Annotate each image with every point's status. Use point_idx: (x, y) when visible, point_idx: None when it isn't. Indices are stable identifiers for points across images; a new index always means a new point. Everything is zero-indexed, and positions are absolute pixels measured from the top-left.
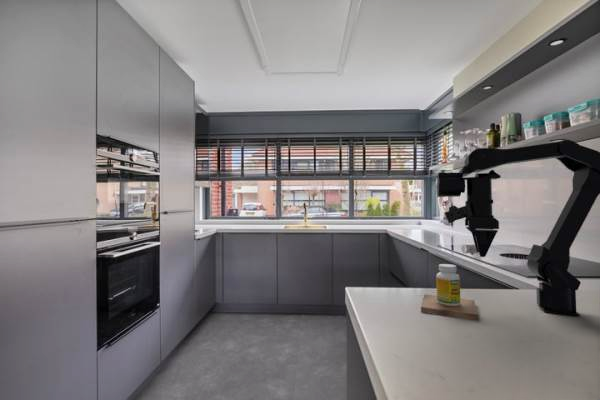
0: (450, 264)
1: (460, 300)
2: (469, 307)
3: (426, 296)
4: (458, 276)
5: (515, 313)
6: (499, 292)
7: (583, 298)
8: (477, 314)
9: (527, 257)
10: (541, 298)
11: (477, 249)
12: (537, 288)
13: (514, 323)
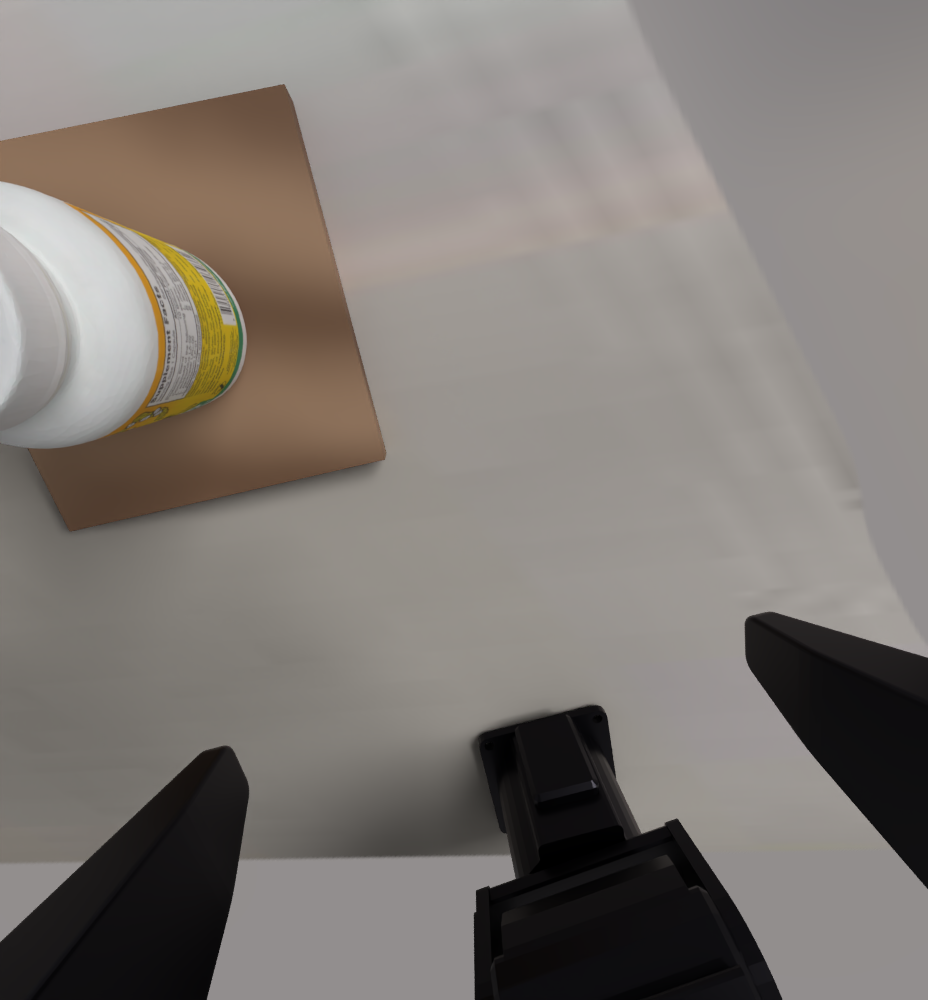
0: (4, 341)
1: (311, 387)
2: (183, 465)
3: (227, 122)
4: (18, 445)
5: (370, 641)
6: (785, 531)
7: (837, 823)
8: (69, 527)
9: (712, 988)
10: (524, 768)
11: (773, 648)
12: (590, 787)
13: (190, 654)
